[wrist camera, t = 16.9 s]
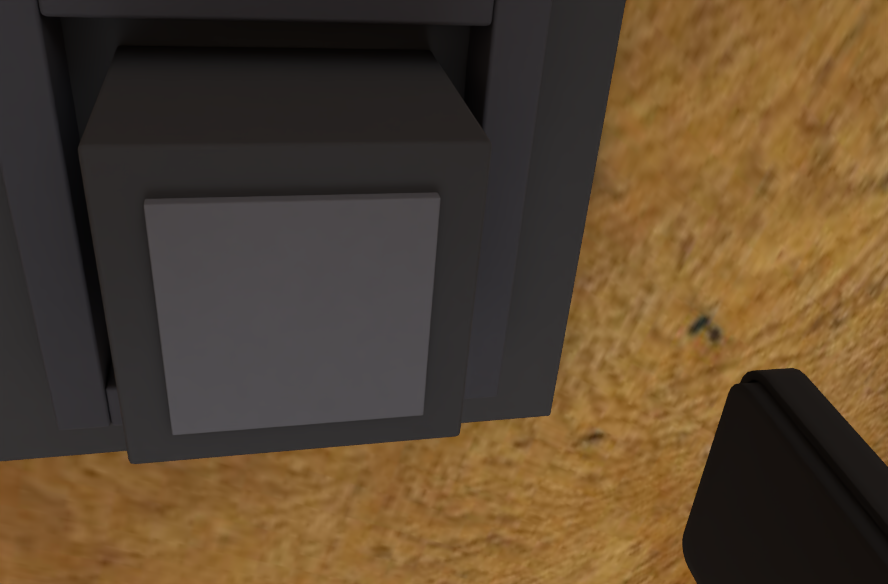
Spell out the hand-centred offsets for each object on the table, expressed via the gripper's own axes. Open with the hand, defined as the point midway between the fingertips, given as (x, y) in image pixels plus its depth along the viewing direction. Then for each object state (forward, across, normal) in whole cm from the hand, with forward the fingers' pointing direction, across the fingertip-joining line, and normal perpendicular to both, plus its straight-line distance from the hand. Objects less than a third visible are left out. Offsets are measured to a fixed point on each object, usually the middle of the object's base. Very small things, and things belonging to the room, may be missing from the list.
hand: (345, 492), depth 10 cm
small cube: (+8, 0, 0) cm, 8 cm away
